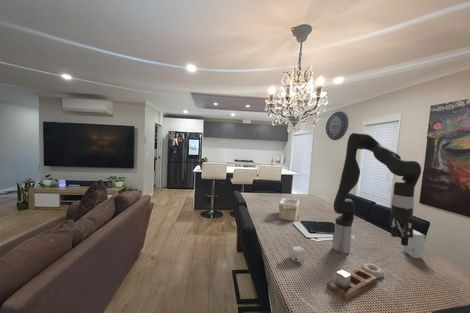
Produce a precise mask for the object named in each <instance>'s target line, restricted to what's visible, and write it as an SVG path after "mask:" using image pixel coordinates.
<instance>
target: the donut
mask: <svg viewBox="0 0 470 313" xmlns="http://www.w3.org/2000/svg"><path fill="white" fill-rule="evenodd" d="M360 269H362V270H364V271H366V272H368V273H370V274H372V275H374V276H376V277H377V279H382V278H383V277H384V276H385V272H384V270H383V269H382V268H381V267H380V266H378V265H376V264H374V263H370V262H369V263H367V262H365V263H362V264H361V267H360Z"/></svg>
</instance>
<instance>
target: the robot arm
mask: <svg viewBox="0 0 470 313" xmlns="http://www.w3.org/2000/svg"><path fill="white" fill-rule="evenodd" d="M346 144H347V145H346V153H345V159H344V164H343V169H342V172H341V176H340V182H339V186H338V190H337V193H336V195H335V197H334V201H333V210H334V213H336V214H339V216H337V217H336V218H335V224H334V233H333V234H332V245H331V248H332V249H333V250H334V251H336V252H337V253H339V254H342V255H347V254H350V251H351V243H352V242H351V240H352V228H353V226H352V225H353V223H354V218H355V210H356V205H355V202H354V200H352V199H350V198H347V197H348V194H349V193H350V192H351V191H352V190H353V189H354V188H355V187H356V186H357V184H358V183H359V182H358V181H359V179H360V175H361V168H360V166H359V163H358V161H357V152H358V150H367V151H370V152H371V153H373V157H374V158H375V159H376V160H377V161H378V162H379V163H381V164H383V165H384V166H386V168H387V169H388V170H389V172H390V173H391V174H393V175H394V176H398V177H402V178H401V180H397V181H395V182H394V184H393V194H392V198H391V206H390V207H391V209H390V214H389V215H390V216H389V223H388V224H389V226H390V228H391V231H390V232H391V234H390V236H392V237H393V238H397V237H398V233H399V232H400V233H401V238H400V244H401V246H408V238H413V230H414V223H413V222H412V223H411V222H409V219H412V218H413V216H414V206H415V187H416V185H417V183H418V181H419V178H420V177H421V174H422V166H421V165H420V163H419V162H417V161H415V160H409V159H406V160H404V159H403V160H402V159H401V158H402V157H401V155H399V154H398V153H396V152H395V151H392V150H391V149H390V148H388V147H385V145H382V144H381V143H380V142H379V141H377V140H376V139H375V138H374V137H373V136H371V134H369V133H364V132H363V133H361V132H352V133H350V135H349V136H348V139H347V143H346ZM340 214H341V215H340ZM409 232H410V234H409Z"/></svg>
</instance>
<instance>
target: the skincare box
mask: <svg viewBox="0 0 470 313" xmlns="http://www.w3.org/2000/svg"><path fill="white" fill-rule="evenodd" d="M409 234H410V232H409ZM425 241H426V235H425V234H423V233H421V232H419V231H418V230H415V229H413V238H408V246H404V245H402V246H403V247H402V252H404V253H405V254H407V255H409V256H410V257H411V258H415V259H416V258H417V259H422V258H423V253H424V247H425Z"/></svg>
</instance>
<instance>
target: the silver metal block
mask: <svg viewBox="0 0 470 313" xmlns="http://www.w3.org/2000/svg"><path fill="white" fill-rule="evenodd" d="M336 278H337V279H336ZM336 278H335V279H336V285H337V286H338V287H340V288H341V289H343V290H344V291H346V290H348V289H350V278H351V274H349V273H348V272H347V271H345V270H343V269H340V270H338V271H336Z"/></svg>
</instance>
